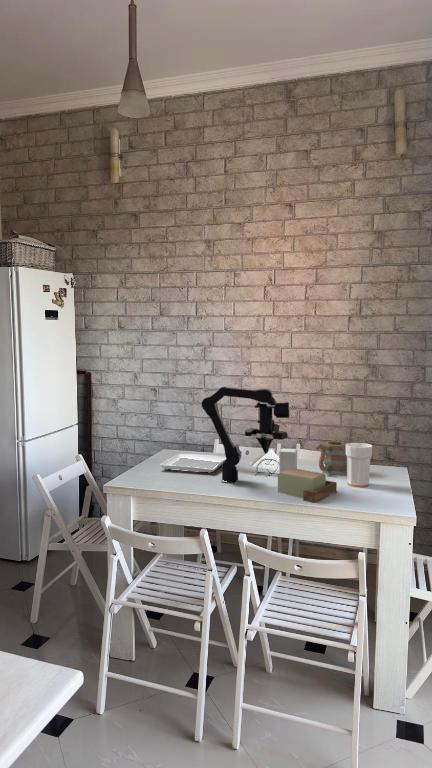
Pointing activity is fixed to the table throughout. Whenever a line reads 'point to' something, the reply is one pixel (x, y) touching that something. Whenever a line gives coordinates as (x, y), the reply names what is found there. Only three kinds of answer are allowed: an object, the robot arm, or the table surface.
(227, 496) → the table surface
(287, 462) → the supplement box
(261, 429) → the robot arm
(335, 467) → the tankard
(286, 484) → the tea box
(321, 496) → the bracket
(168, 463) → the square plate
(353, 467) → the cup
